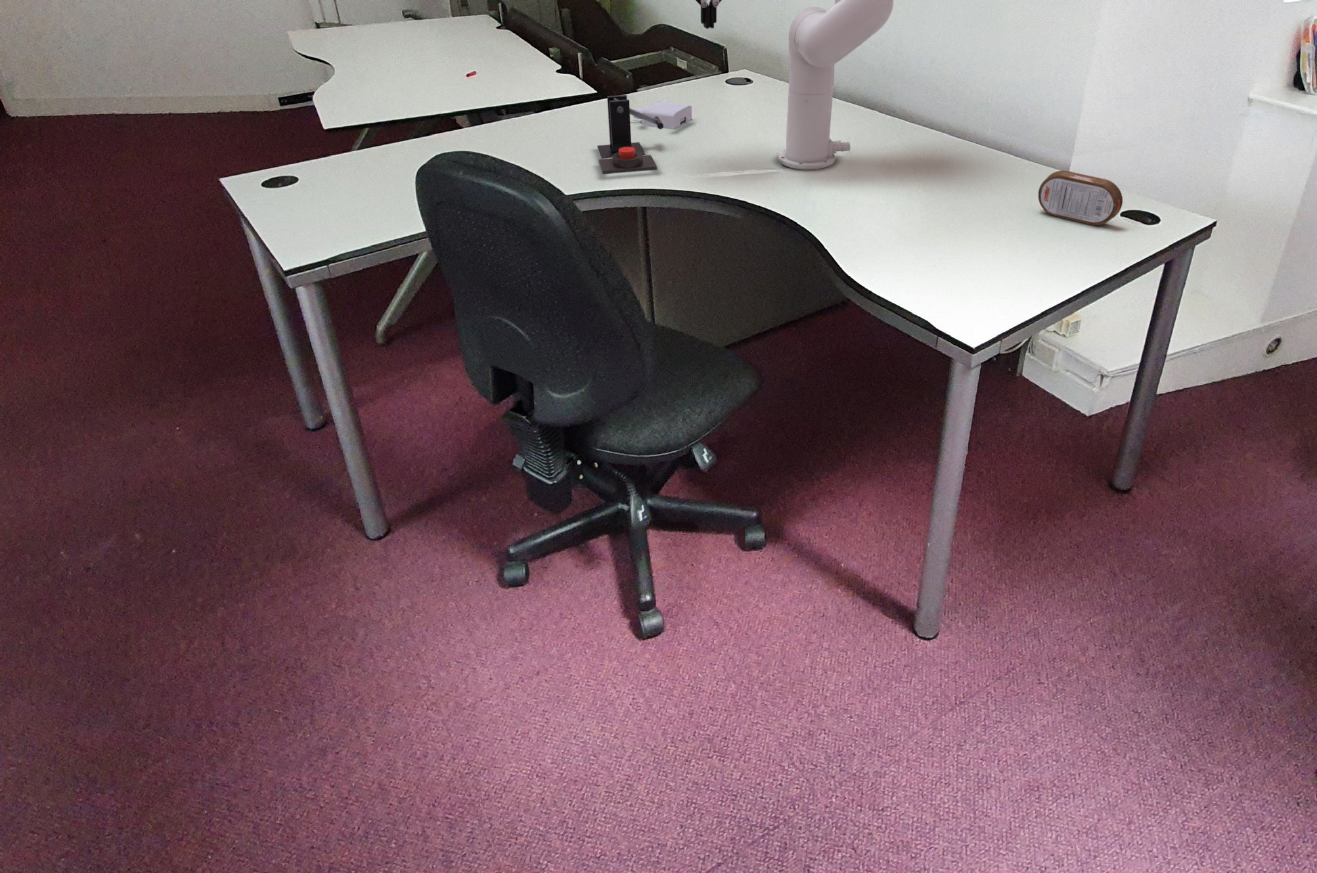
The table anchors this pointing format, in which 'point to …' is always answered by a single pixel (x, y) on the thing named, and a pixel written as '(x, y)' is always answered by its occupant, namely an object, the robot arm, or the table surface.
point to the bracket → (618, 127)
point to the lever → (646, 117)
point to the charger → (667, 114)
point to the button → (627, 152)
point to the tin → (1080, 197)
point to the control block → (627, 164)
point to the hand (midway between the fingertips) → (708, 27)
